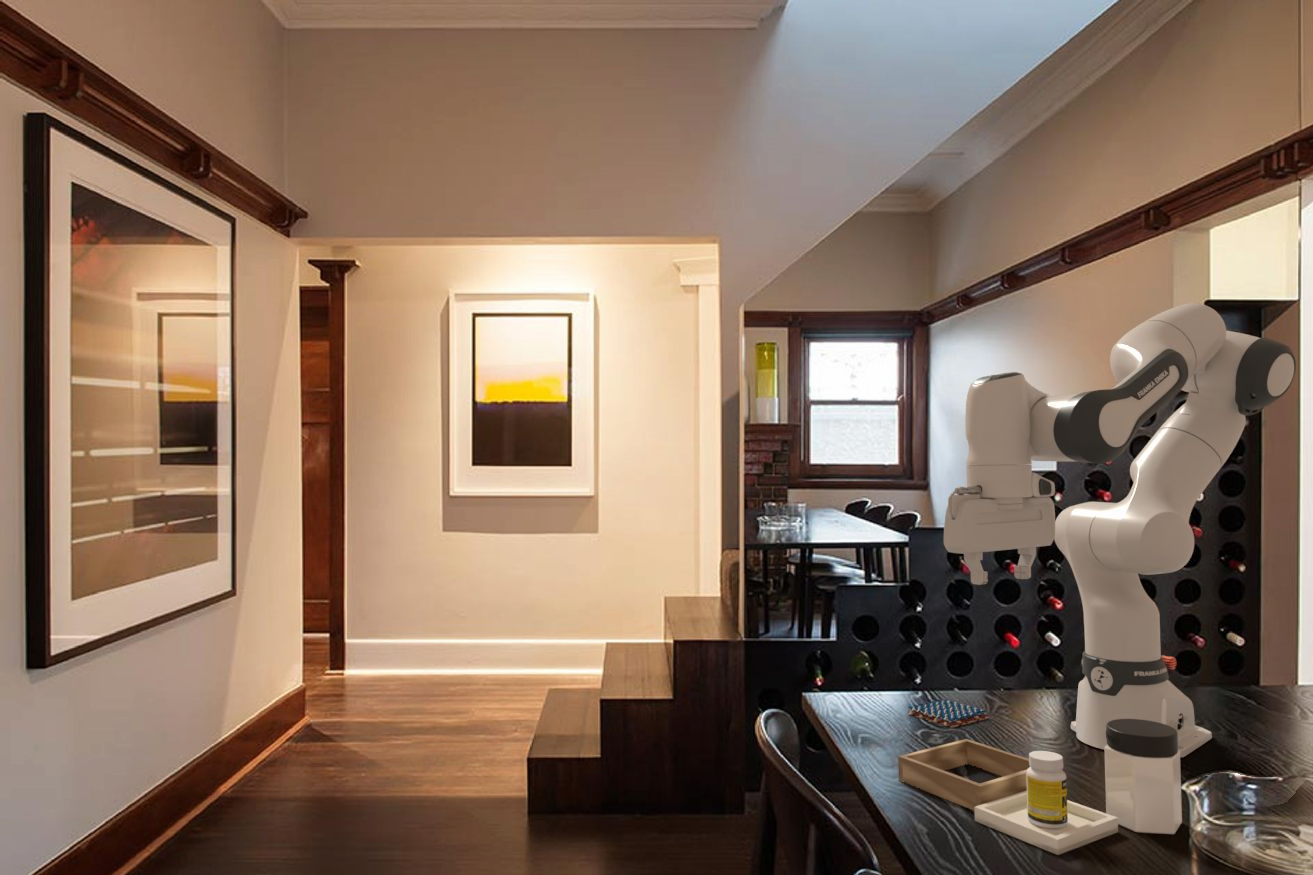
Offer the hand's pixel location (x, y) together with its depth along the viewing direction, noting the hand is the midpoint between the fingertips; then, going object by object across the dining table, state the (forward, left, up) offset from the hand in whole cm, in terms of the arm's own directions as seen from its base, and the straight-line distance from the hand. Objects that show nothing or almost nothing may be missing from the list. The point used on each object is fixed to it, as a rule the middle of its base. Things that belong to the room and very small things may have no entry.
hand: (1001, 581), depth 129 cm
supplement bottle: (+8, +12, -29) cm, 32 cm away
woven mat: (-20, -28, -30) cm, 46 cm away
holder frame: (+4, -3, -29) cm, 29 cm away
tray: (+8, +12, -29) cm, 32 cm away
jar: (-4, +18, -29) cm, 35 cm away
